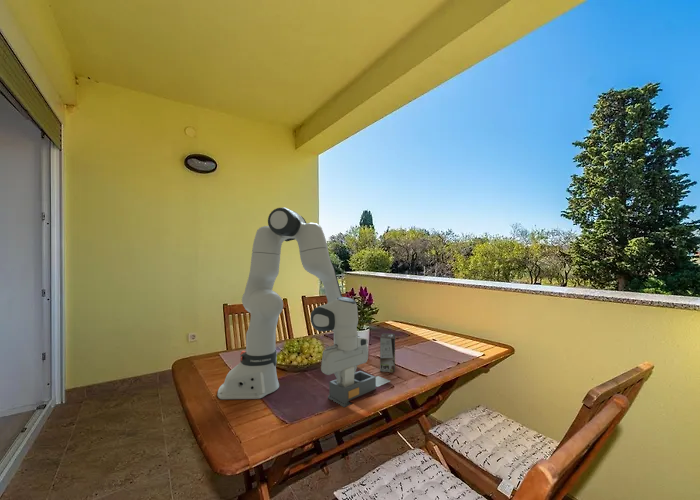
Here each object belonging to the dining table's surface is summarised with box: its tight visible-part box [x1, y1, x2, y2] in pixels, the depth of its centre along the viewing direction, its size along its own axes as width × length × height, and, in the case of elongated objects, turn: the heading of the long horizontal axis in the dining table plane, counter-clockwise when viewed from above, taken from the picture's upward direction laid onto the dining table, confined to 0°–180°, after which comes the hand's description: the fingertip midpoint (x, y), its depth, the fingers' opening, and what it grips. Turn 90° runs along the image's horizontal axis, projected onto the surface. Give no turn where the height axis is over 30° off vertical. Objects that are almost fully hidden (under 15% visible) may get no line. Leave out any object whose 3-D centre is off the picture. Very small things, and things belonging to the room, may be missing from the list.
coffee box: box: [379, 332, 396, 373], centre depth 135 cm, size 9×6×16 cm
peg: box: [337, 367, 354, 387], centre depth 109 cm, size 4×4×8 cm
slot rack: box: [327, 370, 391, 408], centre depth 114 cm, size 26×9×6 cm, turn 133°
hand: (345, 380), depth 109 cm, fingers closed on peg, 4 cm apart
